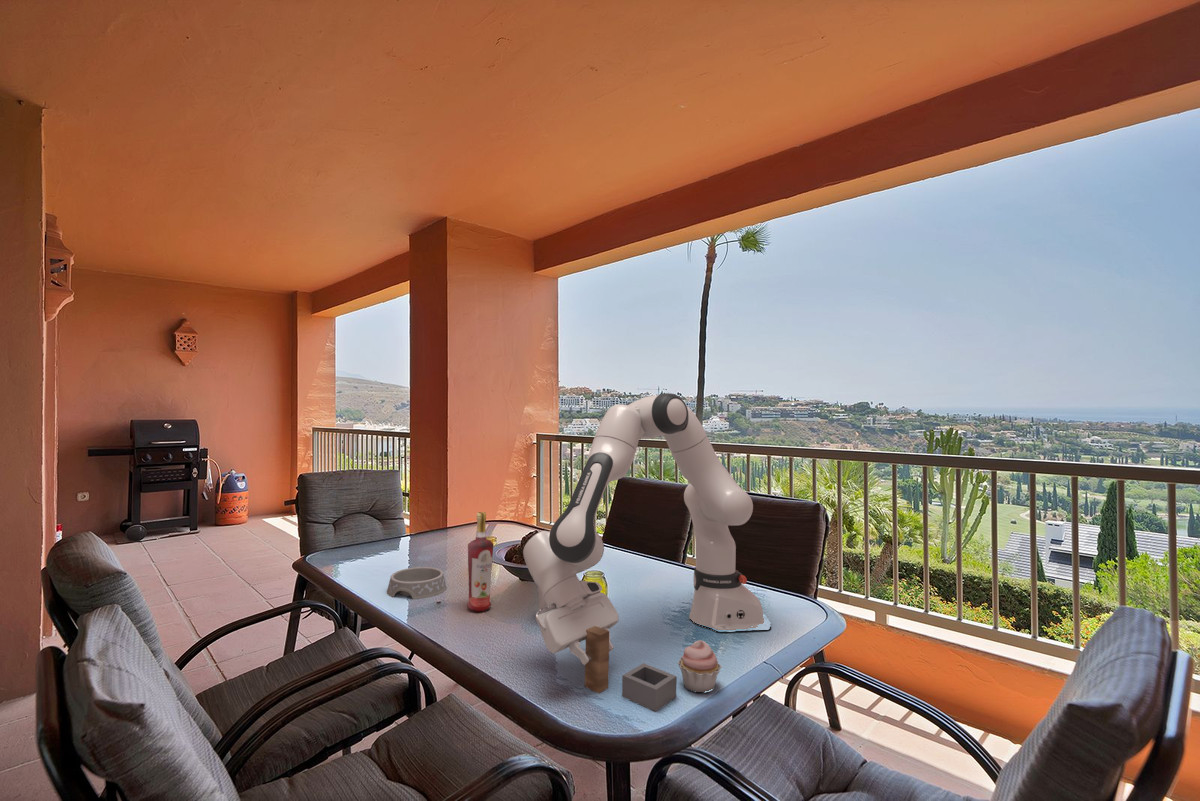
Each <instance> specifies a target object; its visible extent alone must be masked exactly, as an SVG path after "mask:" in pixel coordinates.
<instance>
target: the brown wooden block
mask: <svg viewBox="0 0 1200 801" xmlns="http://www.w3.org/2000/svg"><path fill="white" fill-rule="evenodd" d="M608 630H609V629H608ZM608 630H605V629H602V628H600V627H597V626H594V627H591V628H589V629H587V630H586V632H587V636H586V640H585V647H584V648H585V649H584V651H585V652H589V654H590V656H591V657H592V660H591V661H590V662H589V663H587V664H585V665H584V688H586V689H589V690H590V691H593V692H594V693H597V694H601V693H602V692H604V691H605V690H607V689H609V668H610V667H609V666H610V664H609V661H610V659H609V658H610V652H609V632H610V630H609V631H608Z"/></svg>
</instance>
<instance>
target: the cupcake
mask: <svg viewBox="0 0 1200 801" xmlns="http://www.w3.org/2000/svg"><path fill="white" fill-rule="evenodd" d="M679 659H680V660H678V661H677V664H678V666H679V668H680V671H681V674H682V676H681V677H682V680H683V684H684V687H685V689H687V690H688V689H689V690H688V691H690V690H692V691H696V692H705V691H709V690H711V689H713V688H714V689H715V686H716V681H717V678H718V674H720V671H721V669H722V665H721V664H720V663H719V660H718V658H717V656H716V654H715V653H714V651H713V650H712V648H711V647H710V645H709V644H708V643H707V642H706V641H704V640H701V639H699V640H696V641H695V642H694V643H692V645H689V646H686V647H685V648H684V650H683V655H682V656H680V657H679ZM714 689H713V690H714ZM692 691H691V692H692ZM696 692H695V693H696Z"/></svg>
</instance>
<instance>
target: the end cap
mask: <svg viewBox="0 0 1200 801" xmlns="http://www.w3.org/2000/svg"><path fill="white" fill-rule="evenodd" d="M621 678H622V679H621V680H622V682H621V687H622V688H621V697H623V698H625V699H626V700H629V701H631V702H634V703H636V704H638V705H640V706H643V707H644V708H647V709H649V710H651V711H653V712H655V713H657V712H658V711H659V710H660V709H662V708H663V707H665V706H667V705H668V704H669V703H671V700H672V701H673V700H674V699H676V698H677V682H678V680H677V679H678V678H677V675H675V674H673V673H670V672H667V671H665V670H662V669H660V668H657V667H654V666H652V665H649V664H647V663H644V662H643V663H642V664H640V665H638V666H636V667H634V668H632V669H631V670H629V671H627V672H626V673H624V674H622V677H621ZM675 697H676V698H675ZM664 705H665V706H664Z"/></svg>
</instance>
